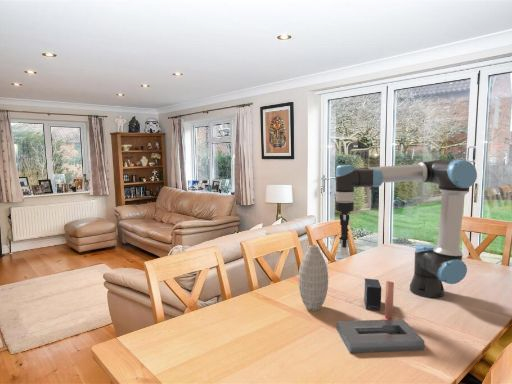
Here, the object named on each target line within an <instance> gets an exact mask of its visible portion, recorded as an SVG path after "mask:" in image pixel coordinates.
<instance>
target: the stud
mask: <svg viewBox="0 0 512 384" xmlns="http://www.w3.org/2000/svg"><path fill="white" fill-rule="evenodd" d="M394 286H395V284H394V282H393V281H385V297H384V299H385V300H384V315H382V317H381V320H391V319H396V317H394V314H393V313H394V291H395V290H394Z"/></svg>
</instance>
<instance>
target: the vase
mask: <svg viewBox="0 0 512 384" xmlns="http://www.w3.org/2000/svg"><path fill="white" fill-rule="evenodd" d="M298 288H299V295H300V297H301V301H302V303H303V305H304V306H305V308H306V309H307V310H309V311H311V312H312V311H315V312H317V311H319V310H320V309H321V308H322V306H323V305H324V303H325V301H326V299H327V298H326V297H327V294H328V290H329V272H328V265H327V262H326V260H325V258H324V256H323V254H322V252H321V251H320V249H319V246H318V244H310V245H309V246H308V250H307V251H306V252H305V254H304V256H303V258H302V259H301V263H300V265H299V270H298Z"/></svg>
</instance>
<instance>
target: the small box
mask: <svg viewBox="0 0 512 384" xmlns="http://www.w3.org/2000/svg"><path fill="white" fill-rule="evenodd" d="M363 291H364V295H363V301H364V306H365V309H366V310H374V311H381V308H382V285H381V283H380V280H379V279H374V278H364V290H363Z"/></svg>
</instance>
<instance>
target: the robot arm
mask: <svg viewBox="0 0 512 384" xmlns="http://www.w3.org/2000/svg"><path fill="white" fill-rule="evenodd" d="M477 177H478V173H477V169H476V167H475V165H473V163H472V162H470V161H468V160H466V159H465V160H464V159H459V158H458V159H454V158H452V159H451V158H450V159H449V158H448V159H446V158H444V159H443V158H442V159H434V160H430V161H419V162H418V163H417V164H403V165H387V166H386V165H385V166H372V167H371V166H370V167H355V166H354V165H353V164H341V165H337V166H336V168H335V193H334V194H333V196H334V197H335V211H337V212H340V214H339V220H340V221H339V224H340V231H341V232H340V236H339V239H338V240H340V255H341V256H348V254H349V253H348V250H349V248H348V245H349V244H348V243H349V240H348V239H349V237H348V234H349V233H348V232H349V231H350V230H349V228H348V227H349V225H350V214H348V212H349V213H350V212H353V211H354V210H355V209H354V208H355V207H354V206H355V203H354V201H355V188H376V187H378V188H379V187H381V185H382V184H383V183H398V182H401V183H403V182H404V183H405V182H416V181H417V182H418V183H431V184H437V185H438V190H439V192H440V193H441V200H440V201H441V204H440V213H439V222H438V232H437V233H438V235H437V242H436V243H437V245H435V244H434V245H433V244H418V245H416V246H415V249H414V268H413V269H414V271H413V272H414V273H413V277H412V279H411V281H410V283H409V291H410V292H411V293H412V294H414V295H418V296H421V297H424V298H425V297H426V298H440V297H443V296H444V295H445V289H444V284H443V283H445V284H447V285H455V284H459V283H460V282H461V281H462V280H464V279H465V277H466V276H467V273H468V267H467V264H466V263H465V261H463V252H462V251H461V250H460V244H461V243H460V242H461V233H462V225H463V223H462V222H463V214H464V205H465V196H466V195H467V194H468V193H469V192H470V187H472V186H473V185H474V184H475V183H476V181H477Z"/></svg>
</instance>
